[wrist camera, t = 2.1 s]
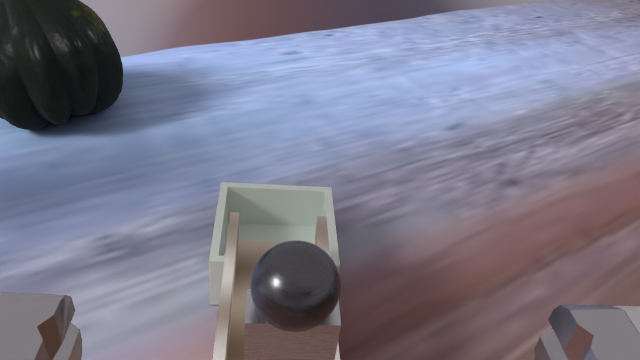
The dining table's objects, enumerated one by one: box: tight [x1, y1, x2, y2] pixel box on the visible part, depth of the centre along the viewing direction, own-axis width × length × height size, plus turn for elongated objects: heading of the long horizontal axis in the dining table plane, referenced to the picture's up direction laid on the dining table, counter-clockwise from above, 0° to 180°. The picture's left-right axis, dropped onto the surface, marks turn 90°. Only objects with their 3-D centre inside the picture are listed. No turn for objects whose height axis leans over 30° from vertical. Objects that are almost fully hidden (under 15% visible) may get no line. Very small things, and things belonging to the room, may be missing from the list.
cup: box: [209, 182, 340, 305], centre depth 44 cm, size 9×9×4 cm
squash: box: [0, 0, 123, 130], centre depth 57 cm, size 14×15×15 cm
